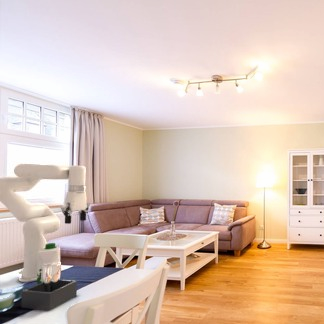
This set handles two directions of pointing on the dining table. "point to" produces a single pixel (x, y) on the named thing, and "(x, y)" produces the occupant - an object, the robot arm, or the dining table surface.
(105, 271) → the dining table surface
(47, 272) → the beer glass
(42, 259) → the milk carton
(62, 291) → the bin
